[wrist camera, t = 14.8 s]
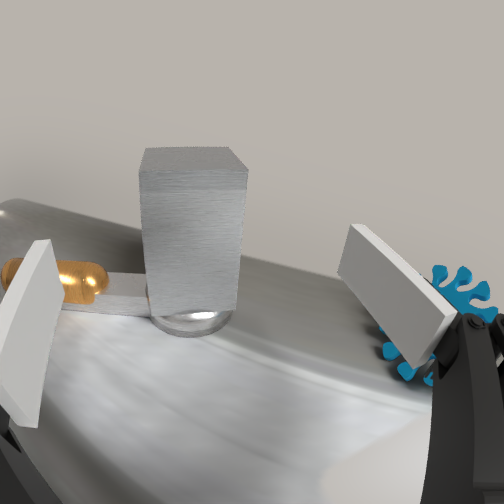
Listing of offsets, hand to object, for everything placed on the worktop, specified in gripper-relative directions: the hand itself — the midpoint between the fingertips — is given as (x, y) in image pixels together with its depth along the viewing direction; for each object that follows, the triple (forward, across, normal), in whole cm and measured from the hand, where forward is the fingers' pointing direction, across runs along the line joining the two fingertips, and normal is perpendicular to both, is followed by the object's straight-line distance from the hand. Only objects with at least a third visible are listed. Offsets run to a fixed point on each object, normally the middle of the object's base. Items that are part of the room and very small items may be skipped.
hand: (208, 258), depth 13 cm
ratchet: (+10, -7, -10) cm, 16 cm away
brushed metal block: (+8, 0, -8) cm, 12 cm away
